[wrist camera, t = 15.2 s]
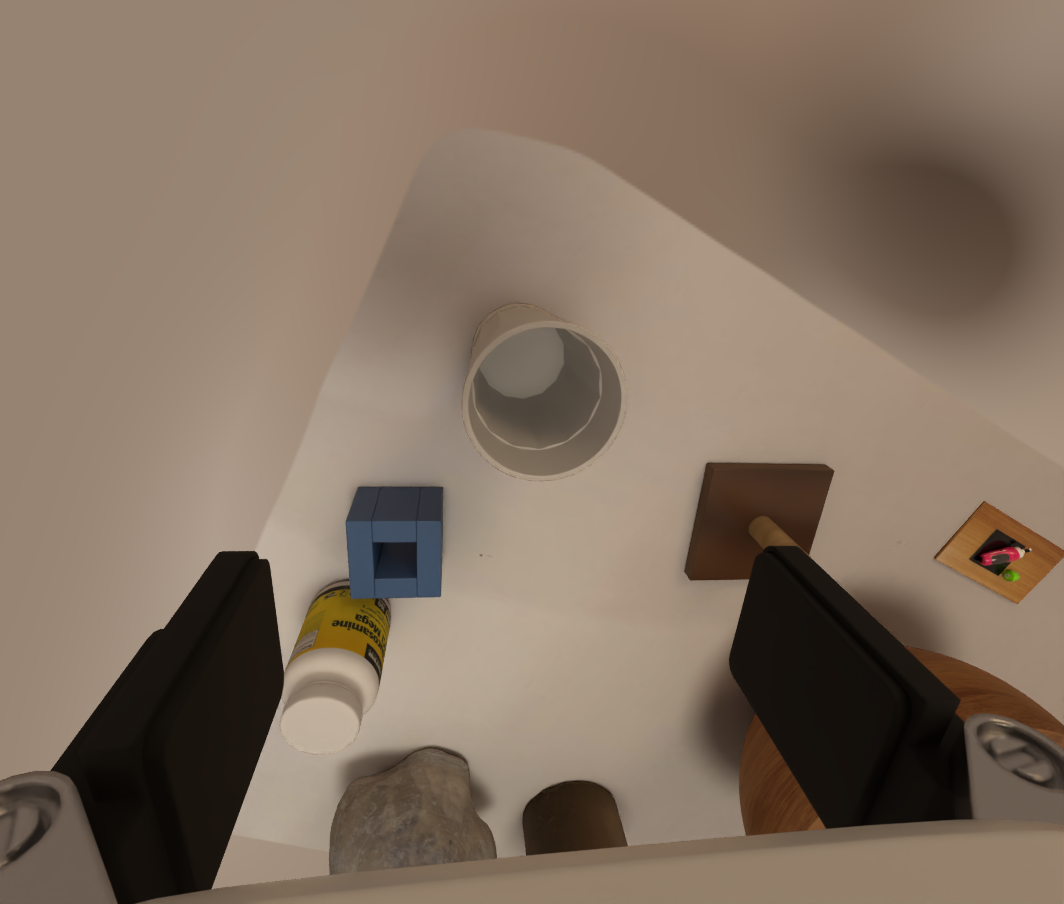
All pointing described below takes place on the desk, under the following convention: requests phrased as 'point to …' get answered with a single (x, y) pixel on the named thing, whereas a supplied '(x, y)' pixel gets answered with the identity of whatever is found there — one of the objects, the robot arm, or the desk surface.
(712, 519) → the dowel stand
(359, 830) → the decorative stone
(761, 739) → the bowl
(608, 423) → the cup
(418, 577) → the collar block
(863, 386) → the desk surface
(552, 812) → the pillar candle
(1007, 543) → the board
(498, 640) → the desk surface
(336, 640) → the pill bottle
